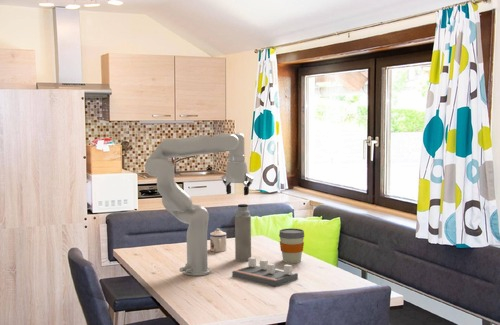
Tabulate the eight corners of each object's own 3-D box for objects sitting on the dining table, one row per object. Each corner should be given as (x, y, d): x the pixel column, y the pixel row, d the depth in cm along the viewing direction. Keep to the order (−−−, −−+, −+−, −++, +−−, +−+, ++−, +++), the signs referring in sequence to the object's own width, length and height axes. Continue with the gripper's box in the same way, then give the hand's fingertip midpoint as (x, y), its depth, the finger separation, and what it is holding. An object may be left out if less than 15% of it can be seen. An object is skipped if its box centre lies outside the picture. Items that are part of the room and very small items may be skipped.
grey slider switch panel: (275, 286, 271) (275, 271, 270) (232, 276, 287) (232, 262, 287) (297, 278, 283) (297, 264, 282) (255, 269, 299) (255, 255, 299)
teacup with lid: (209, 248, 344) (208, 227, 343) (225, 247, 345) (225, 226, 344) (211, 253, 332) (211, 231, 331) (228, 252, 333) (228, 231, 332)
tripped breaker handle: (272, 273, 281) (271, 265, 280) (266, 272, 283) (266, 264, 282) (274, 272, 282) (274, 264, 282) (269, 271, 284) (269, 263, 284)
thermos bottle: (236, 257, 323) (235, 203, 321) (251, 257, 323) (251, 203, 320) (234, 261, 315) (233, 205, 313) (250, 261, 315) (249, 205, 312)
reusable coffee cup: (289, 256, 325) (288, 227, 324) (309, 259, 317) (309, 230, 316) (274, 261, 316) (274, 231, 314) (294, 264, 308) (294, 234, 306)
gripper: (217, 159, 306) (218, 194, 308) (248, 160, 298) (249, 196, 299) (225, 157, 313) (226, 192, 314) (256, 159, 304) (256, 194, 306)
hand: (237, 194), depth 307 cm, fingers open, 9 cm apart
